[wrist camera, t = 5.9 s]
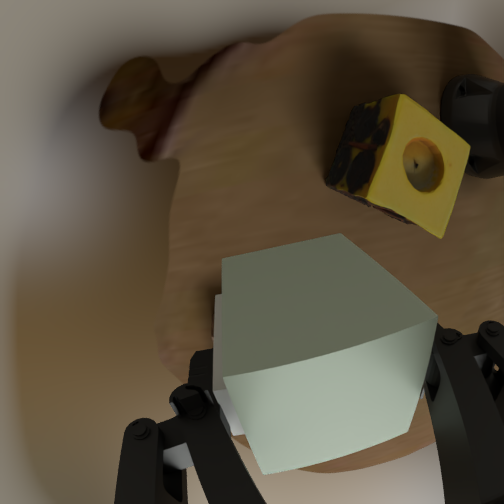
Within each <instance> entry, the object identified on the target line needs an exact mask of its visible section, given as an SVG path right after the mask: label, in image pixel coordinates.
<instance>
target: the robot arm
mask: <svg viewBox="0 0 504 504" xmlns="http://www.w3.org/2000/svg"><path fill="white" fill-rule="evenodd" d="M441 121H442V123H443V124H444V125H446V126H447V127H448V128H450V129H451V130H452V131H454V132H455V133H456V134H457V135H459V136H460V137H461V138H462V139H463V140H464V141H466V142H467V143H468V144H469V145H470V146H471V147H470V152H469V157H468V160H467V164H466V167H465V171H464V172H465V173H467V174H469V175H471V176H475V177H479V178H484V179H489V178H494V177H499V176H503V175H504V83H502V82H499V81H496V80H493V79H489V78H486V77H483V76H479V75H475V74H467V75H461V76H457V77H455V78H453V79H452V80H451V81H450V82H449V83H448V85H447V86H446V88H445V91H444V93H443V97H442V103H441ZM495 364H496V365H497V366H498V367H499V370H498V371H496V370H495V369H494V366H495ZM189 369H190V370H189V377H188V383H187V384H183V385H181V386H179V387H177V388H176V389H175V390H174V391H173V392H172V394H171V395H170V398H169V403H170V405H171V407H172V408H173V410H174V412H175V413H176V415H177V416H175V417H173V418H171V419H169V420H166V421H164V422H160V423H158V424H156V422H155V421H154V420H151V419H149V418H141V419H137V420H135V421H133V422H132V423H130V424H129V425H128V426H127V427H126V430H125V432H124V437H123V443H122V449H121V455H120V462H119V469H118V476H117V484H116V492H115V501H114V504H188V496H187V472H186V468H188V467H191V466H193V465H194V467H195V469H196V472H197V475H198V478H199V480H200V483H201V485H202V488H203V490H204V493H205V495H206V498H207V500H208V503H209V504H266V502H265V500H264V499H263V497H262V495H261V494H260V492H259V490H258V489H257V487H256V485H255V483H254V481H253V480H252V478H251V476H250V474H249V472H248V470H247V468H246V467H245V465H244V463H243V461H242V459H241V457H240V455H239V453H238V451H237V449H236V447H235V446H234V443H233V441H232V440H231V432H232V434H233V436H234V435H240V434H245V433H244V430H243V428H242V425H241V423H240V421H239V418H238V416H237V413H236V411H235V408H234V406H233V403H232V401H231V398H230V396H229V393H228V390H227V388H226V385H225V383H224V380H223V376H222V294H219V295H215V315H214V348H212V349H207V350H201V351H196V352H195V354H194V355H193V357H192V358H191V360H190V368H189ZM424 392H425V395H426V399H427V403H428V407H429V412H430V416H431V420H432V425H433V429H434V434H435V439H436V444H437V450H438V455H439V461H440V466H441V474H442V481H443V489H444V498H445V504H504V326H503V325H502V324H500V323H499V322H496V321H485V322H483V323H482V324H480V327H479V330H478V333H474V334H468V335H462V333H461V332H459V331H457V330H455V329H451V328H448V329H444V328H443V327H441V326H440V325H439V324H438V323H437V326H436V331H435V337H434V341H433V346H432V351H431V355H430V359H429V363H428V367H427V371H426V375H425V379H424V382H423V386H422V390H421V393H420V399H422V398H423V395H424Z"/></svg>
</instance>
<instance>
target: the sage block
mask: <svg viewBox="0 0 504 504" xmlns="http://www.w3.org/2000/svg"><path fill="white" fill-rule="evenodd" d="M437 320H438V315H437V314H435V313H434V312H433V311H432V310H431V309H430V308H429V307H428V306H427V305H426V304H424V303H423V302H422V301H421V300H420V299H419V298H418V297H417V296H416V295H414V294H413V293H412V292H411V291H410V290H409V289H408V288H406V287H405V286H404V285H403V284H402V283H401V282H399V281H398V280H397V279H396V278H395V277H394V276H392V275H391V274H390V273H389V272H388V271H387V270H385V269H384V268H383V267H382V266H381V265H379V264H378V263H377V262H376V261H375V260H373V259H372V258H371V257H370V256H368V255H367V254H366V253H365V252H364V251H362V250H361V249H360V248H359V247H357V246H356V245H355V244H354V243H352V242H351V241H350V240H349V239H347V238H346V237H345V236H343V235H342V234H341V233H339V234H335V235H330V236H325V237H321V238H316V239H311V240H307V241H302V242H297V243H293V244H288V245H284V246H279V247H274V248H270V249H265V250H260V251H256V252H251V253H246V254H242V255H237V256H232V257H228V258H223V259H222V376H223V380H224V383H225V385H226V388H227V390H228V393H229V396H230V398H231V401H232V403H233V406H234V408H235V411H236V413H237V416H238V418H239V421H240V423H241V425H242V428H243V430H244V433H245V435H246V437H247V440H248V442H249V444H250V447H251V449H252V451H253V453H254V455H255V458H256V460H257V462H258V465H259V467H260V469H261V471H262V473H263V475H266V474H272V473H277V472H283V471H287V470H292V469H297V468H301V467H305V466H309V465H313V464H317V463H321V462H325V461H328V460H332V459H335V458H339V457H342V456H345V455H348V454H351V453H354V452H357V451H360V450H363V449H366V448H369V447H371V446H374V445H377V444H379V443H382V442H384V441H387V440H389V439H392V438H394V437H396V436H399V435H401V434H403V433H406V432H408V429H409V426H410V423H411V421H412V418H413V415H414V412H415V409H416V406H417V403H418V399H419V396H420V393H421V389H422V386H423V382H424V379H425V375H426V371H427V367H428V363H429V359H430V355H431V351H432V346H433V341H434V337H435V331H436V326H437Z"/></svg>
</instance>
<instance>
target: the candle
mask: <svg viewBox="0 0 504 504" xmlns="http://www.w3.org/2000/svg"><path fill="white" fill-rule="evenodd" d="M470 147H471V146H470V145H469V144H468V143H467V142H466V141H464V140H463V139H462V138H461V137H460V136H459V135H457V134H456V133H455V132H454V131H452V130H451V129H450V128H448V127H447V126H446V125H444V124H443V123H442V122H441V121H439V120H438V119H437V118H436V117H434V116H433V115H432V114H431V113H430V112H428V111H427V110H426V109H425V108H423V107H422V106H420V105H419V104H418V103H416V102H415V101H414V100H412V99H411V98H409V97H408V96H406V95H405V94H395V95H391V96H388V97H384V98H382V99H380V100H378V101H374V102H372V103H369V104H367V103H362V104H360V105H358V106H354V108H353V110H352V112H351V114H350V119H349V120H348V121H347V124H346V130H345V131H344V134H343V136H342V140H341V142H340V144H339V148H338V150H337V151H336V152H337V154H336V157H335V160H334V162H333V164H332V167H331V170H330V173H329V176H328V177H327V178H326V186H327V187H329V188H330V189H333V190H335V191H337V192H340V193H342V194H344V195H345V196H348V197H349V198H351V199H354V200H356V201H358V202H360V203H362V204H364V205H365V204H366V205H367V206H368V207H370V206H373V207H374V208H376V209H378V210H380V211H382V212H383V213H384V214H386V215H388V216H390V217H392V218H395V219H398V220H399V221H402V222H404V223H406V224H415V225H418V226H421V227H422V228H423V229H425V230H426V231H428V232H430V233H432V234H433V235H435V236H437V237H438V238H440V239H441V238H442V237H443V235H444V232H445V230H446V227H447V224H448V221H449V218H450V216H451V213H452V210H453V207H454V203H455V200H456V197H457V194H458V190H459V187H460V184H461V180H462V177H463V174H464V171H465V167H466V164H467V160H468V157H469V152H470Z"/></svg>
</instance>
